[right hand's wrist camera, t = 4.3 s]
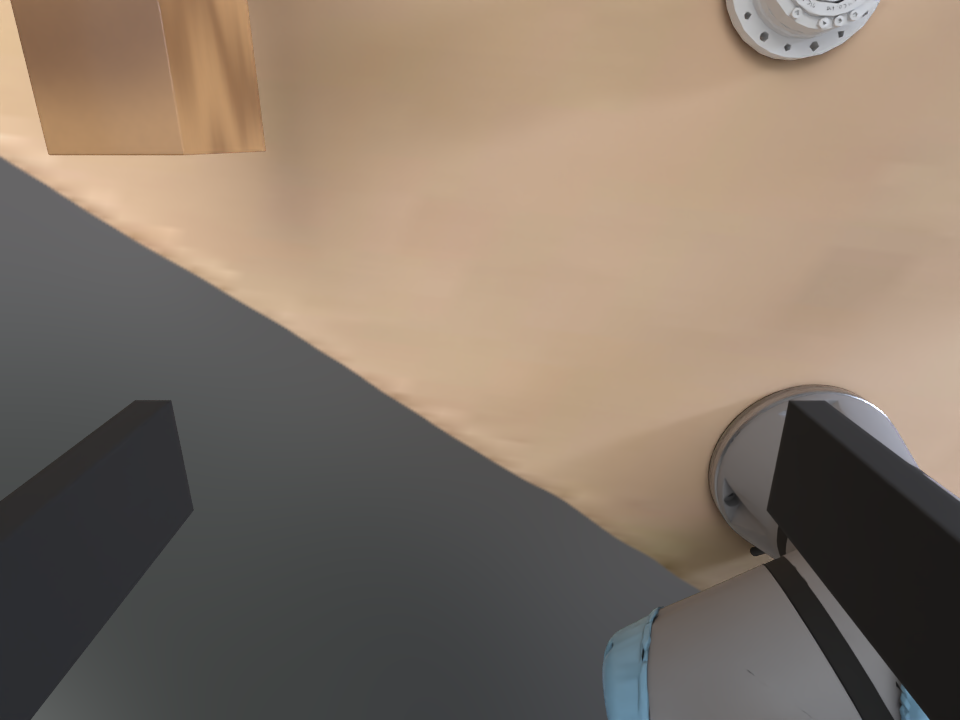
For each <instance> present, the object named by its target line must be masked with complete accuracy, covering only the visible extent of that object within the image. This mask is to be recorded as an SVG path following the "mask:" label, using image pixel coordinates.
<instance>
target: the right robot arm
mask: <svg viewBox="0 0 960 720" xmlns="http://www.w3.org/2000/svg"><path fill="white" fill-rule="evenodd" d="M709 486H710V491H711V495H712V498H713V500H714V502H715V504H716V506H717V508H718V509H719V511H720V512H721V514H722V516H723V517H724V519H725V520H726V522H727V523H728V524H729V526H730V527H731V528H732V529H733V530H734V531H735V532H736V533H737V534H739V535H740V536H741V537H742V538H744V539H745V540H747V541H748V542H749V543H751V544H753V545H754V546H755V547H752V548H751V549H750V552H751V554H752V555H753V556H758V555H761V554H765V553H766V554H768V555H769V556H771V557H772V558H774V559H775V560H773V561H770V562H768V563H766V564H762V565H760V566H758V567H756V568H753V569H751V570H749V571H747V572H744V573H742V574H740V575H738V576H735V577H733V578H731V579H729V580H726V581H724V582H722V583H720V584H718V585H715V586H713V587H711V588H709V589H706V590H704V591H702V592H699V593H697V594H695V595H692V596H690V597H688V598H685V599H683V600H680V601H678V602H676V603H673V604H671V605H669V606H666V607H658V608H655V609H654V610H653V611H652V612H651V613H650V614H649V615H648V616H646V617H644V618H642V619H640V620H638V621H637V622H635V623H633V624H630V625H628V626H626V627H624V628H622V629H621V630H619V631H618V632H616V633H615V634H614V635H613V636H612V637H611V639H610V640H609V642H608V644H607V647H606V650H605V653H604V663H603V669H602V676H603V691H604V699H605V706H606V712H607V717H608V720H960V498H958V497H957V496H956V495H954V494H953V493H951V492H950V491H949V490H947V489H946V488H945V487H943V486H942V485H940V484H939V483H938V482H936V481H935V480H934V479H932V478H931V477H929V476H928V475H927V474H925V473H924V472H923V471H921V470H920V469H919V467H918V465H917V464H916V462H915V460H914V458H913V457H912V455H911V453H910V452H909V450H908V448H907V447H906V445H905V443H904V441H903V440H902V438H901V436H900V435H899V433H898V431H897V430H896V428H895V427H894V425H893V424H892V423H891V421H890V420H889V419H888V418H887V416H886V415H885V414H884V413H883V412H882V411H880V410H879V409H878V408H877V407H875V406H874V405H872V404H871V403H869V402H868V401H866V400H865V399H863V398H862V397H860V396H859V395H857V394H855V393H853V392H850V391H848V390H845V389H842V388H838V387H834V386H827V385H805V386H798V387H793V388H789V389H785V390H782V391H779V392H776V393H773V394H771V395H769V396H767V397H765V398H763V399H761V400H759V401H758V402H756V403H754V404H753V405H751V406H750V407H748V408H747V409H746V410H745V411H743V412H742V413H741V414H740V415H739V416H738V417H737V418H736V419H735V420H734V421H733V422H732V423H731V424H730V425H729V426H728V428H727V429H726V430H725V432H724V433H723V434H722V436H721V438H720V439H719V441H718V443H717V445H716V447H715V449H714V452H713V455H712V458H711V462H710V468H709ZM192 512H193V505H192V500H191V495H190V490H189V485H188V480H187V475H186V470H185V466H184V461H183V456H182V451H181V446H180V441H179V436H178V432H177V427H176V422H175V417H174V412H173V407H172V402H171V400H135V401H134V402H133V403H131V404H130V405H128V406H127V407H126V408H124V409H123V410H122V411H120V412H119V413H118V414H116V415H115V416H114V417H112V418H111V419H110V420H108V421H107V422H106V423H104V424H103V425H102V426H100V427H99V428H98V429H96V430H95V431H94V432H92V433H91V434H90V435H88V436H87V437H86V438H84V439H83V440H82V441H80V442H79V443H78V444H76V445H75V446H74V447H72V448H71V449H70V450H68V451H67V452H66V453H64V454H63V455H62V456H60V457H59V458H58V459H56V460H55V461H54V462H52V463H51V464H50V465H48V466H47V467H46V468H44V469H43V470H42V471H40V472H39V473H38V474H36V475H35V476H34V477H32V478H31V479H30V480H28V481H27V482H26V483H24V484H23V485H22V486H20V487H19V488H18V489H16V490H15V491H14V492H12V493H11V494H10V495H8V496H7V497H5V498H4V499H3V500H1V501H0V720H31V718H32V717H33V716H34V715H35V713H36V712H37V711H38V709H39V708H40V707H41V706H42V704H43V703H44V702H45V700H46V699H47V698H48V697H49V695H50V694H51V693H52V691H53V690H54V689H55V688H56V686H57V685H58V684H59V682H60V681H61V680H62V679H63V677H64V676H65V675H66V673H67V672H68V671H69V670H70V668H71V667H72V666H73V664H74V663H75V662H76V661H77V659H78V658H79V657H80V655H81V654H82V653H83V652H84V650H85V649H86V648H87V646H88V645H89V644H90V643H91V641H92V640H93V639H94V637H95V636H96V635H97V634H98V632H99V631H100V630H101V628H102V627H103V626H104V625H105V623H106V622H107V621H108V620H109V618H110V617H111V616H112V614H113V613H114V612H115V611H116V609H117V608H118V607H119V605H120V604H121V603H122V602H123V600H124V599H125V598H126V596H127V595H128V594H129V593H130V591H131V590H132V589H133V587H134V586H135V585H136V584H137V582H138V581H139V580H140V578H141V577H142V576H143V575H144V573H145V572H146V571H147V569H148V568H149V567H150V566H151V564H152V563H153V562H154V560H155V559H156V558H157V557H158V555H159V554H160V553H161V551H162V550H163V549H164V548H165V546H166V545H167V544H168V542H169V541H170V540H171V538H172V537H173V536H174V535H175V533H176V532H177V531H178V530H179V528H180V527H181V526H182V524H183V523H184V522H185V521H186V519H187V518H188V517H189V515H190V514H191V513H192Z"/></svg>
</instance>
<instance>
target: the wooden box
mask: <svg viewBox="0 0 960 720" xmlns="http://www.w3.org/2000/svg"><path fill="white" fill-rule="evenodd" d="M11 4H12V8H13V13H14V17H15V21H16V25H17V29H18V33H19V37H20V41H21V45H22V49H23V53H24V57H25V61H26V65H27V69H28V73H29V77H30V81H31V85H32V89H33V93H34V98H35V102H36V106H37V110H38V114H39V118H40V122H41V126H42V130H43V134H44V138H45V142H46V146H47V150H48V154H49V155H196V154H217V153H238V152H260V151H265V142H264V133H263V125H262V117H261V109H260V101H259V93H258V84H257V76H256V68H255V60H254V52H253V44H252V35H251V27H250V19H249V11H248V3H247V0H11Z"/></svg>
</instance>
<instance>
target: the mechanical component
mask: <svg viewBox="0 0 960 720" xmlns="http://www.w3.org/2000/svg"><path fill="white" fill-rule="evenodd" d="M879 2H880V0H726V6H727V10H728V13H729V16H730V19H731V22H732V24H733V26H734V27H735V29H736V30H737V32H738V33H739V35H740V37H741V38H742V40H743V41H744V42H746V43H747V44H748V45H750V46H751V47H752V48H753V49H755V50H756V51H757V52H759V53H760V54H763V55H765V56H768V57H770V58H774V59H783V60H797V59H801V58H806V57H811V56H815V55H820V54H823V53H825V52H827V51H829V50H831V49H833V48H834V47H836V46H838V45H840V44H842V43H844V42H845V41H846V40H847V39H848V38H850V37H851V36H852V35H853V34H854V33H856V32H857V31H858V30H859V29H860V28H862V27H863V26H864V24H865V23H866V22H867V20H868V19H869V18H870V16H871V15H872V13H873V12H874V11H875V9H876V7H877V5H878V4H879ZM760 36H761V40H760Z"/></svg>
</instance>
